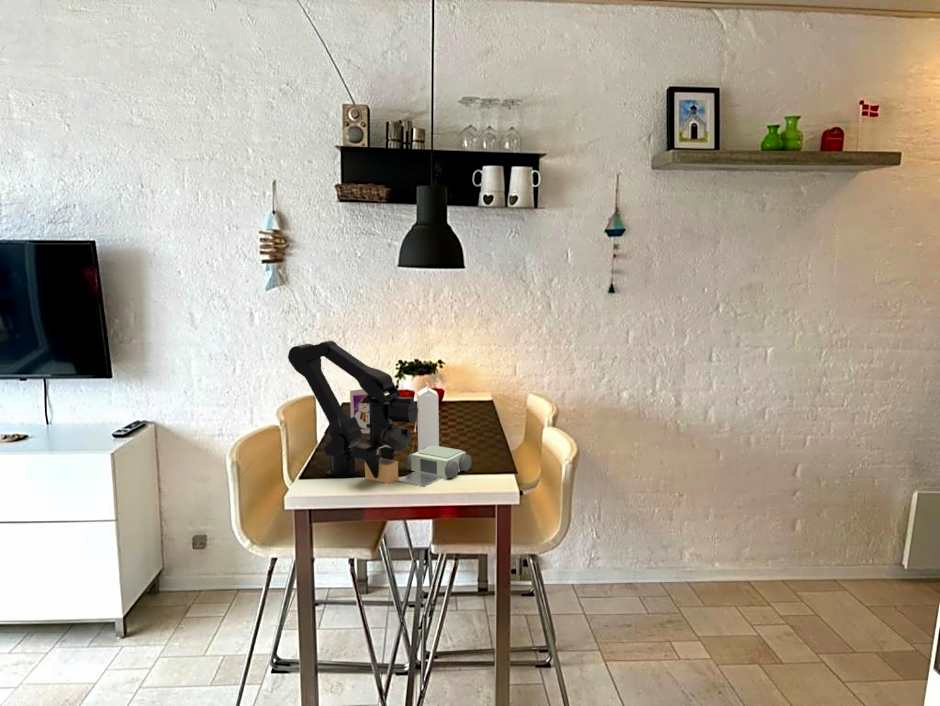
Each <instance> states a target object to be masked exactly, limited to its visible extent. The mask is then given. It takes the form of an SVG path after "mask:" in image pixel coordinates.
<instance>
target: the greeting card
mask: <svg viewBox="0 0 940 706" xmlns="http://www.w3.org/2000/svg"><path fill="white" fill-rule="evenodd" d="M367 395H368V394H367V393H366V392H365V391H364V390H363V389H362V388H361V389H360V388H359V389H354V390H349V396H350V397H349V401H350V402H349V403H350V418H352V417H355V418H356V419H357V422H358V424H359V426H360V427H361V428H362V429H361V432H362V434H370V428H366V424H368V423H370V419H369V404H366V403H362V400H364V399H365V398H366V396H367Z"/></svg>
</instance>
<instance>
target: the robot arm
mask: <svg viewBox="0 0 940 706" xmlns="http://www.w3.org/2000/svg"><path fill="white" fill-rule="evenodd" d="M322 357H324V358H326V360H328V361H330V362H331V363H332V364H334V365H335V366H337V367H338V368H340V369H341V370H342V371H344V372H345V373H347V374H348V375H350V376H351V377H353V378H354V379H355V381H357V382H358V385H359V387H360V388H361V389H363V390H364V391H365V392H366V393H367V394H368V395H367V396H366V398H365V399H364V400H362V403H366V404H369V419H370V423H368V424H366V428H370V433H369V437H367V438H366V443H360V442H361V441H362V438H363V433H362V432H361V429H362V428H361V427H360V426H359V424H358V422H357V419H356V418H355V417H352V418H351V417H349V416H348V415H346V413H345V412H344V410H343V408H342V406H341V405H340V402H339V401H338V399H337V396H336V395H335V392H333V390H332V387H331V386H330V385H331V384H330V383H329V382H328V380H327V378H326V376H325V374H324V372H323V370H322ZM287 359H288V362H289V363H290V365H291V367H293V369H294V371H296V372H297V373H298V374H299V375H301V376H303V377H304V378H305V380H306V381H307V383H308V386H309V388H310V389H311V391H312V393H313V395H314V397H315V399H316V401H317V403H318V404H319V406H320V408H321V409H322V412H323V414H324V416H325V417H326V419H327V421H328V427H329V428H328V434H329V437H330V439H331V440H330V441H329V442H328V443H327V444H326V445H325V446H324V451H325V455H326V456H329V466H330V468H329V469H330V470H328V471H326V475H328V476H329V475H330V476H334V477H338V478H346V477H348V476H351V475H353V474H355V473H358V472H359V469H356V459H361V460H364V463H365V462H366V463H367V465H368V467H369V469H370V471H371V473H372V474H373V476H374V478H378V471H379V459H380V458H384V459H389V460H393V461H394V457H395V455H396V453H398V452H401V451H402V450H406V449H407V448H408V445H409V444H410V442H412V430H411V429H410V428H408V427H407V428H404V429H399V430H398V429H396V424H395V423H396V422H397V423H406V424H414V423H415V422H416V420H418V408H417V402H415V397H412V396H407V397H404V396H403V397H402V394H401V393H400V391H399V389H398V388H397V387H396V385H395V383H394V382H393V378H392V376H391V375H390V374H389V373H388V372H385V371H383V370H380V369H379V368H374V367H371V366H368V365H367V364H365V363H364V362H362V361H361V360H360V359H358V358H356V357H355V356H353V355H352V354H351V353H349V352H348V351H347V350H345V349H344V348H342V347H341V346H339V345H338V343H337V342H335V341H334V340H326V341H325V340H324V341H322V342H320V343H318V344H312V343H306V344H299V345H295V346H292V347H291V348H290V349H289V351H288V355H287ZM394 422H395V423H394ZM368 443H369V444H368ZM379 452H380V453H379Z"/></svg>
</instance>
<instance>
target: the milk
mask: <svg viewBox="0 0 940 706" xmlns="http://www.w3.org/2000/svg"><path fill="white" fill-rule="evenodd" d="M416 398H417V399H416V405H417V408H418V416H417V452H418V451H421V450H422V449H423V448H428V447H430V446H434V445H435V446H440V435H439V434H440V433H439V431H440V425H439V421H440V420H439V415H440V414H439V394H438V392H437V391H436V390H435V389H432V388H431V387H429V383H428V382H427V381H426V385H425V387H423V388H422V389H419V391H417V392H416Z"/></svg>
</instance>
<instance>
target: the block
mask: <svg viewBox="0 0 940 706" xmlns="http://www.w3.org/2000/svg"><path fill="white" fill-rule="evenodd" d="M364 474H365V475H364V477H365V479H367V480H370V481H374V482H378V481H380V482H379V483H382V482H384V483H383V484H386V483H388V484H390V483H393V482H395V481H397V480H398V479H399V461H397V460H394V459H393V460H389V459H384V458H382V457H381V458H380V459H379V471H378V478H374V476H373V474H372V473H371V471H370V469H369V467H368V465H367V463H366V462H365V461H364ZM396 479H397V480H396ZM394 480H395V481H394ZM392 481H393V482H392ZM389 482H390V483H389Z"/></svg>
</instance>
